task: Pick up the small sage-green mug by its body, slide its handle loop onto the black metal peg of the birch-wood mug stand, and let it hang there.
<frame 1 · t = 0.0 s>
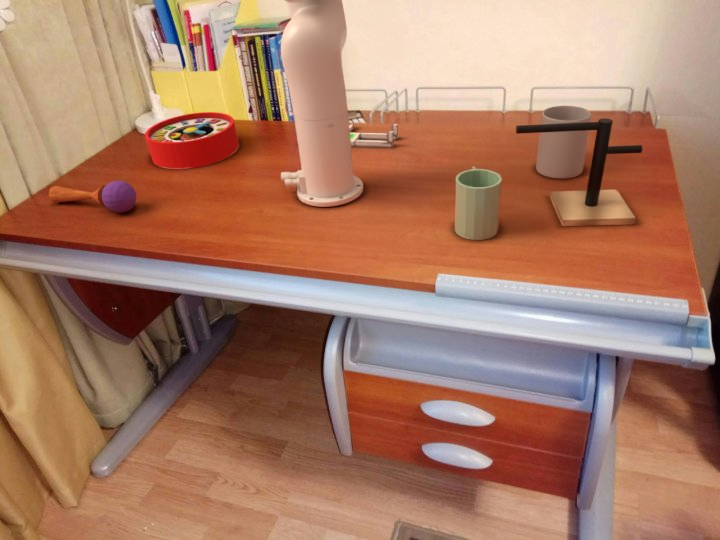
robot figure: (348, 142, 126), on the table
purple maraca: (96, 207, 108), on the table
small mug: (476, 229, 89), on the table
toy clock: (196, 151, 128), on the table
mug: (560, 166, 106), on the table
mug holder: (589, 210, 91), on the table
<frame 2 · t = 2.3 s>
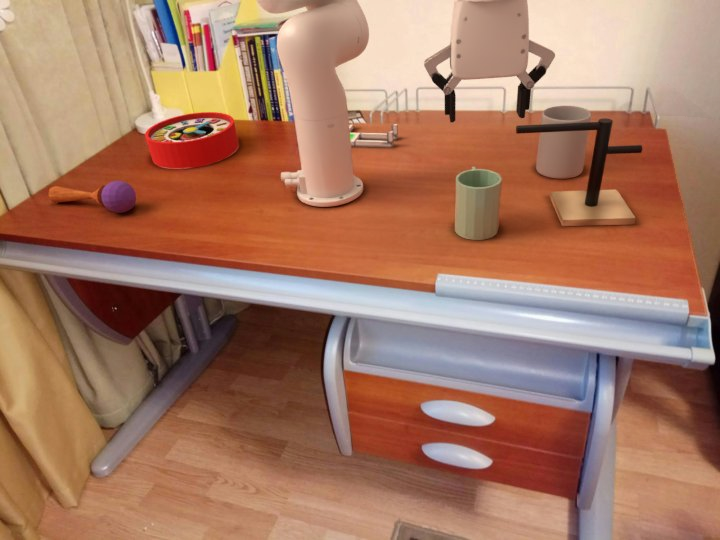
hand: (486, 117, 79), 18 cm above the table, tool pointing down, fingers open, 9 cm apart
nothing on the table moved.
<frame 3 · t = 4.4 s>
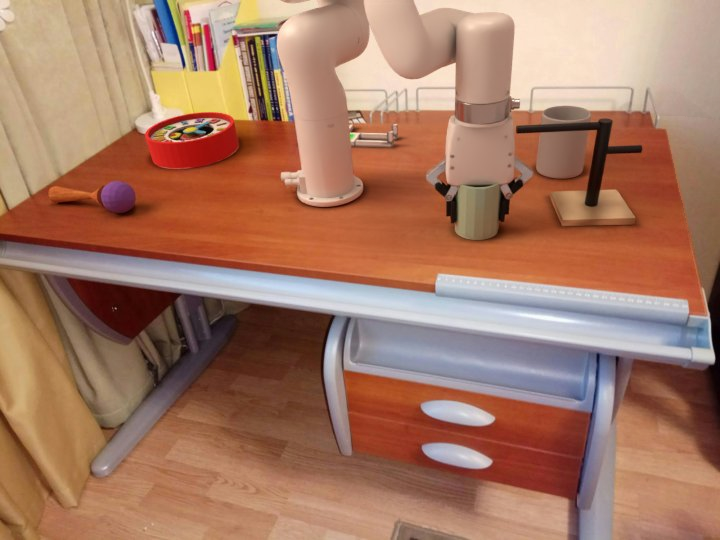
hand: (476, 217, 88), 2 cm above the table, tool pointing down, fingers closed on small mug, 7 cm apart
small mug: (476, 229, 89), on the table, touching gripper
everything else where it was.
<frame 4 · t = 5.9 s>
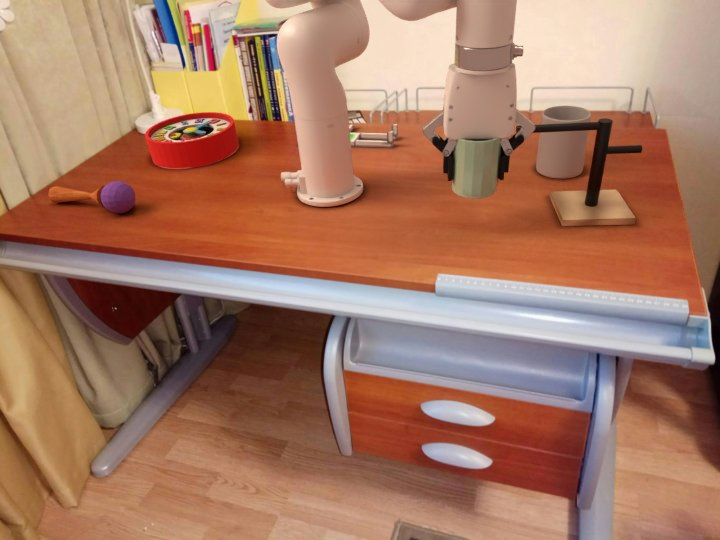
hand: (474, 176, 84), 9 cm above the table, tool pointing down, fingers closed on small mug, 7 cm apart
small mug: (473, 188, 85), point 7 cm above the table, touching gripper
everything else where it was.
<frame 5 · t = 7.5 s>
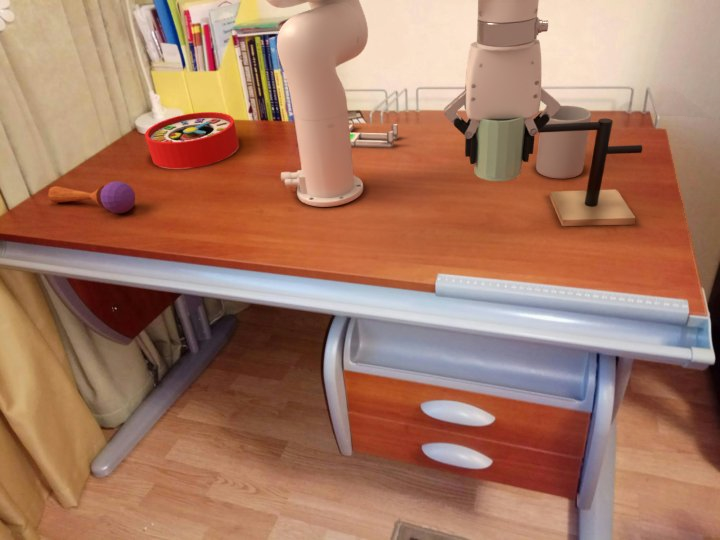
hand: (498, 158, 82), 12 cm above the table, tool pointing down, fingers closed on small mug, 7 cm apart
small mug: (497, 171, 83), point 10 cm above the table, touching gripper
everything else where it was.
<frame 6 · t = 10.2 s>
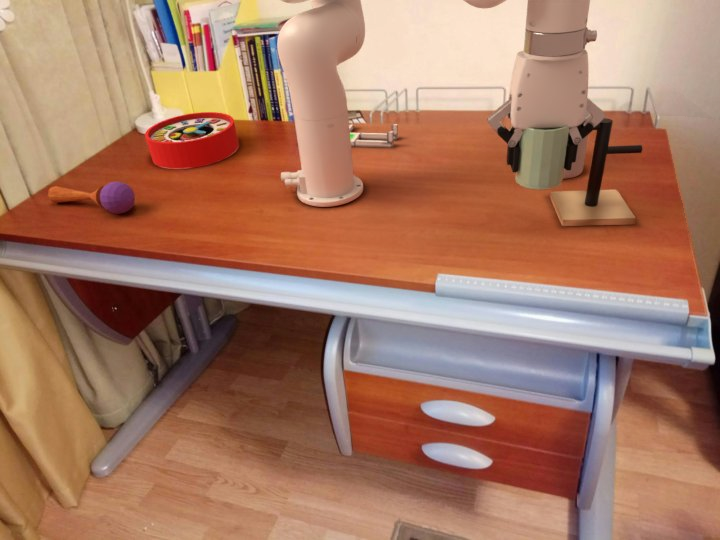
hand: (539, 166, 82), 10 cm above the table, tool pointing down, fingers closed on small mug, 7 cm apart
small mug: (538, 179, 83), point 8 cm above the table, touching gripper
everything else where it was.
when the fingers open (10 cm above the table, at t = 10.8 s): small mug drops 2 cm and tips over, resting on mug holder.
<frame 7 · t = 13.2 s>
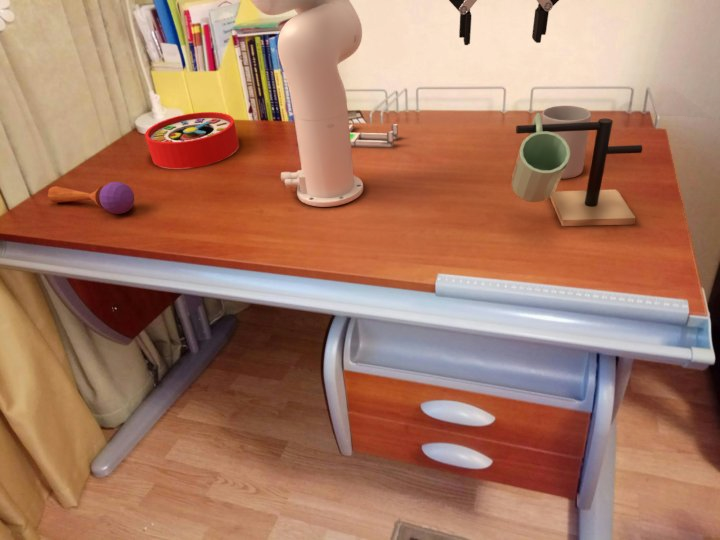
hand: (501, 41, 77), 28 cm above the table, tool pointing down, fingers open, 9 cm apart
small mug: (533, 182, 87), point 6 cm above the table, tilted 35°, touching mug holder
everything else where it was.
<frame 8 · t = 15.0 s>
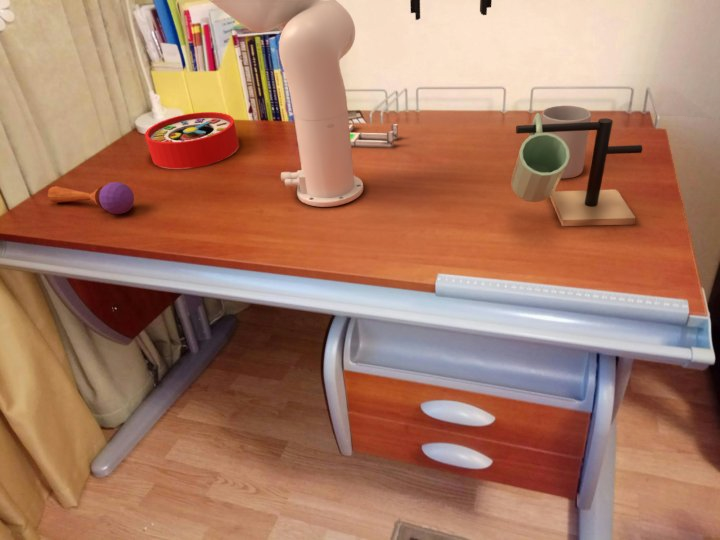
hand: (450, 15, 82), 30 cm above the table, tool pointing down, fingers open, 9 cm apart
nothing on the table moved.
at the end: small mug inside the target area on the mug holder (7.2 cm from its centre), point 8.8 cm above the mug holder's base; small mug touching mug holder; the gripper is holding nothing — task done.
